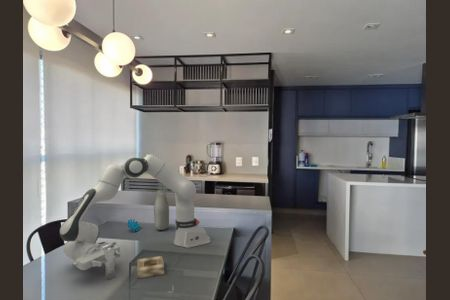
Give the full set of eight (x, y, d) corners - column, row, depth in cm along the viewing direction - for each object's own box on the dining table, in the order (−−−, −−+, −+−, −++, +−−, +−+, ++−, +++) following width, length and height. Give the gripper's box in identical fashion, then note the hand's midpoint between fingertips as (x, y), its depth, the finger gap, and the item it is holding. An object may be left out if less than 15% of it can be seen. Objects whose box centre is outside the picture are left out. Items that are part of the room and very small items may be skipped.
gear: (131, 231, 174) (125, 219, 178) (126, 237, 175) (121, 224, 180) (144, 229, 183) (138, 217, 187) (139, 234, 185) (133, 222, 189)
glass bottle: (164, 226, 190) (163, 188, 189) (171, 229, 182) (171, 190, 181) (151, 229, 183) (151, 190, 182) (159, 233, 175) (158, 192, 174)
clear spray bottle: (113, 272, 123) (112, 240, 122) (119, 274, 121) (118, 242, 121) (99, 280, 116) (99, 246, 116) (105, 282, 115) (105, 248, 114)
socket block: (162, 262, 133) (162, 255, 133) (164, 273, 122) (164, 266, 121) (137, 266, 129) (137, 259, 129) (137, 278, 118) (137, 270, 118)
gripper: (69, 256, 115) (89, 262, 109) (108, 240, 133) (127, 244, 127) (69, 270, 115) (90, 277, 109) (108, 252, 133) (128, 257, 127)
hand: (110, 259), depth 118 cm, fingers open, 8 cm apart
